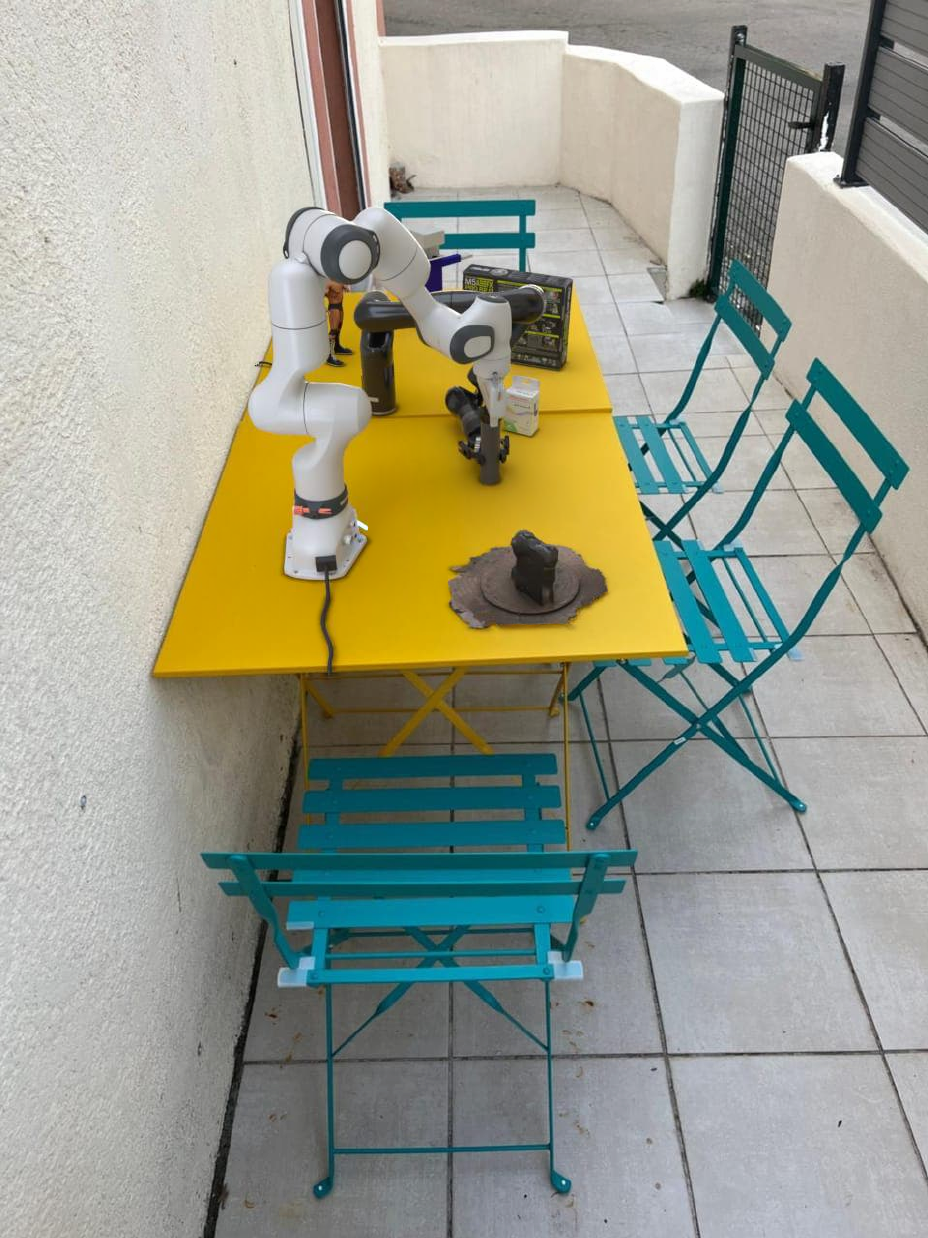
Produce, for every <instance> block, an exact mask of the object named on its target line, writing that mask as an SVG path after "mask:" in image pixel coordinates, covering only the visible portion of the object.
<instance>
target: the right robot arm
mask: <svg viewBox="0 0 928 1238" xmlns="http://www.w3.org/2000/svg"><path fill="white" fill-rule="evenodd" d="M483 293H484V292H477V291H468V290H463V289H451V290H450V289H448V290H446V289H445V290H442V291H437V292H431V293H430V294H431V296H432V297H433V299H434V300H435V301H438V302H441V303H443V304H445V305H447V306H448V307H450V308H451V309H453V310H454V311H456V312H457V313H459V314H463V313H464V312H465V311H467V310H468V309H469V308H470V307H471V306H472V304H473V303H474V302H475V299H476V297H477V295H479V294H483ZM491 294H495V295H499V296H501V297H503V298H505V299H506V300H507V301H508V302H509V305H510V309H511V319H512V330H511V338H510V342H509V345H510V349H511V352H512V350H513V348H514V347H515V345H516V344H517V342H518V341H519V339H520V338H521V337H522V335H523V334H524V333H525V331H526V330H527V329H528V328H529V327H530V326H531V325H532V324H533V323H534V322H536V321H537V320H538V319H540V318H541V316H542V315H543V314H544V312H545V310H546V306H547V299H546V295H545V293H544V291H543V290H542V289H541V288H540V287H538V286H536V285H525V286H522V287H521V288H519V289H515V290H510V291H503V292H495V293H491ZM352 317H353V322H354V324H355V326H356V327H357V328H358V329H359V330H361V331H360V332H361V333H360V339H359V354H360V355H359V356H360V365H361V376H360V379H361V380H360V381H361V388H362V389H363V390H364V391H365V393H366V394H367V396H368V397H369V400H370V403H371V408H372V414H371V416H386V415H387V416H388V415H391V414H393V413H394V412H396V411H397V408H398V403H397V390H396V389H397V388H396V375H395V374H396V373H395V359H394V340H395V331H399V330H406V329H416V328H415V324H414V321H413V319H412V317H411V315H410V314H409V313H408V311H407V310H406V309H405V307H404V306H403V305H402V303H401V302H400V301H399V300H398V301H391V298H390V297H389V296H388V295H387V294H386V293H385V292H384V291H381V290H378V289H372V290H369V291H367V292H365V293H364V294H362V296H361V298H360V299H359V301H358V303H357V304H356V305H355V307H354V309H353V314H352ZM258 362H259V364H257V366H259V365H267V366H271V367H272V364H273V362H270V361H263V360H260V361H258ZM466 378H467V380H468V382H469V383H470V384H471V385H472V386H474V387H475V390H474V392H472V391H471V390H469V389H467V388H465V387H463V386H462V385H454V386H451V387H450V388H448V389H447V390H446V393H445V396H444V405H445V408H446V409H447V411H448V412H449V413H450V414H451V416H452V417H454V418H455V419H456V420H457V421H458V424H459V426H460V428H461V432H462V435H463V436H464V439H465V440H466V441H465V442H464V441H463V440H458V441H457V444H458V445H457V451H458V452H459V453H460V454H461V455H462V456H463V457H464V458H465V459H466V460H467V461H471V460H472V459H473V460H474V461H475V463H476V465H478V466H479V467H480V468H481V466H484V460H483V457H482V455H481V420H480V418H479V409H480V408H481V407H483V406H484V399H483V396H482V393H481V390H480V388H479V385H478V382H477V375H475V374H474V373H473V364H472V365H471V367H470V368H469V370H468V372H467V374H466ZM510 441H511V440H510V435H504V437H500V464H501V465H505V464H506V462H507V456H509V455H510V445H511V444H510V443H511V442H510Z"/></svg>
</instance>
